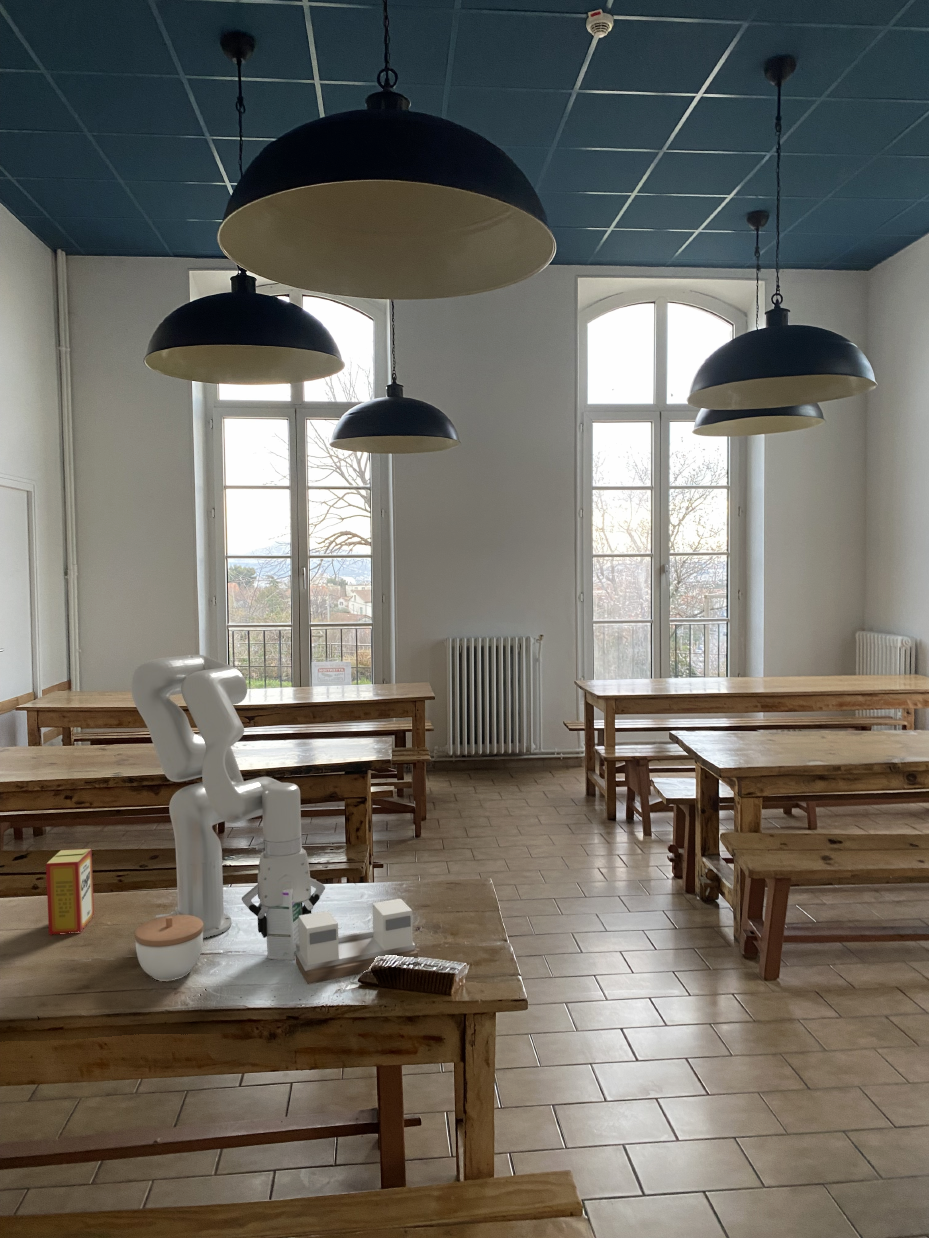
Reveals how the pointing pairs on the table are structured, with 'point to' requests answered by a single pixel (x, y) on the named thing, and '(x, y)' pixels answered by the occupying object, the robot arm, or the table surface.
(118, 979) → the table surface
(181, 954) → the lidded bowl
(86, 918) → the baking soda box
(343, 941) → the rail board
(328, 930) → the mounted modules
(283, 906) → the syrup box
